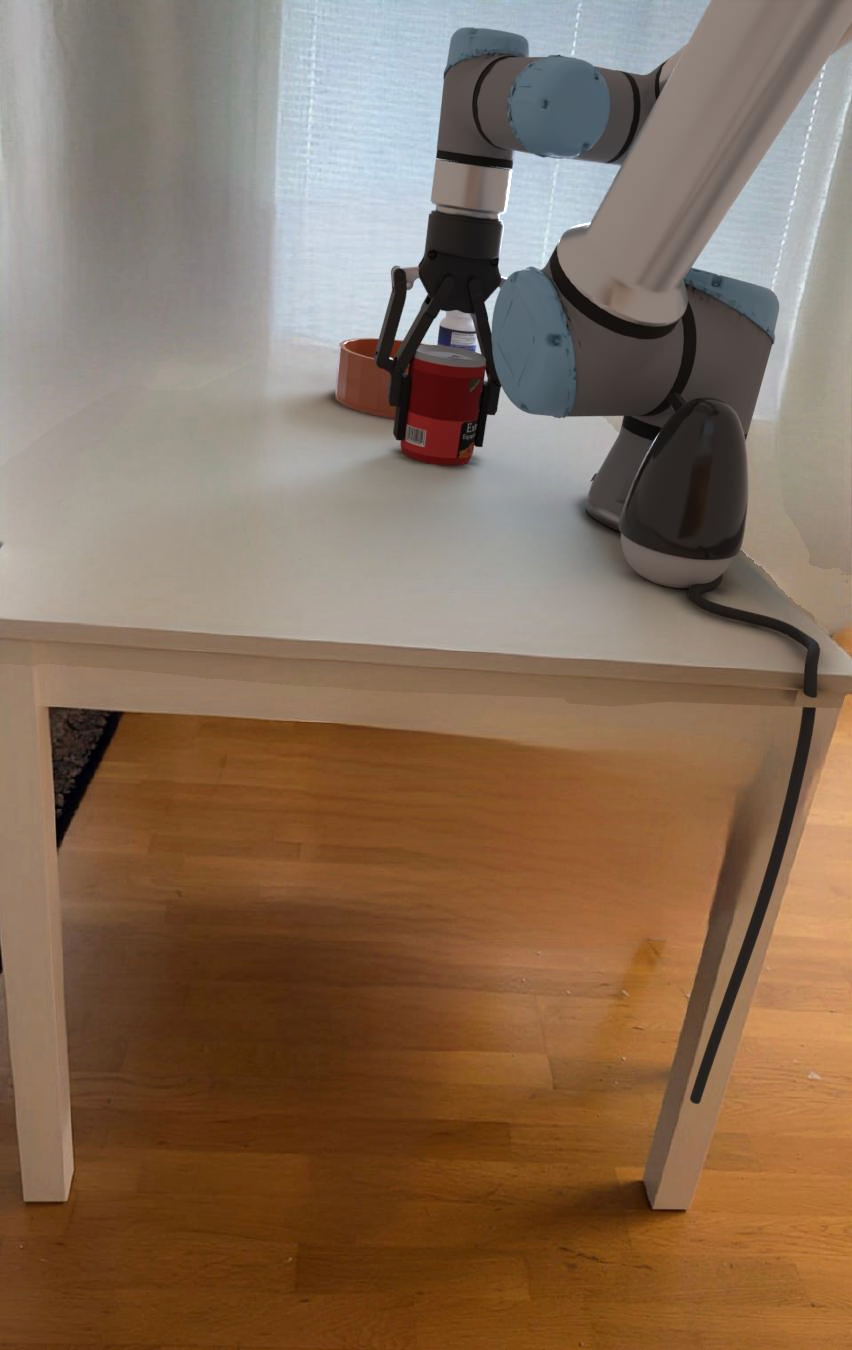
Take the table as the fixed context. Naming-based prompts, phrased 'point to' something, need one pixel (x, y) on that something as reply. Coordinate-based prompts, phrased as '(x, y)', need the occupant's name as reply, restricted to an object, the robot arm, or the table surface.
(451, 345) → the pill bottle
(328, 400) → the table surface
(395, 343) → the terracotta bowl
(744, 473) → the dark two-tone rounded device
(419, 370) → the canned food
